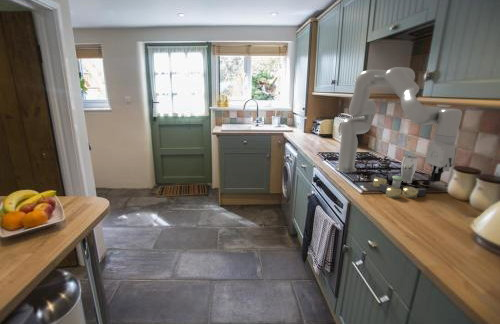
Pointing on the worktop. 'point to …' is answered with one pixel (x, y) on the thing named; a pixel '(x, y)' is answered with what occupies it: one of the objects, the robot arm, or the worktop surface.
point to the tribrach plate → (397, 181)
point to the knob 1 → (390, 191)
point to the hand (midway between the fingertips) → (434, 180)
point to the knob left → (378, 181)
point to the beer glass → (408, 168)
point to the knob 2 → (413, 192)
